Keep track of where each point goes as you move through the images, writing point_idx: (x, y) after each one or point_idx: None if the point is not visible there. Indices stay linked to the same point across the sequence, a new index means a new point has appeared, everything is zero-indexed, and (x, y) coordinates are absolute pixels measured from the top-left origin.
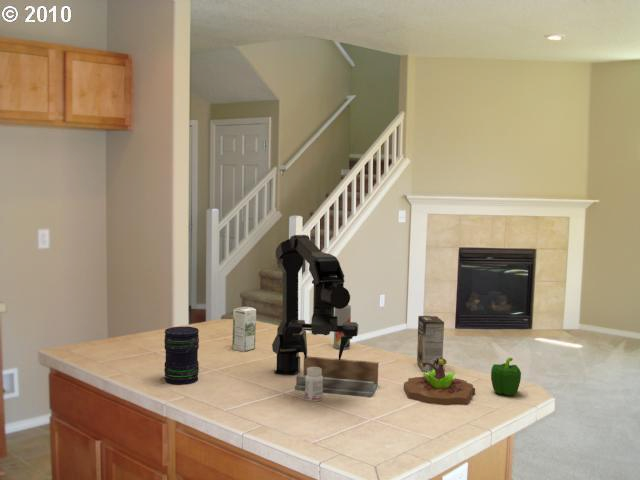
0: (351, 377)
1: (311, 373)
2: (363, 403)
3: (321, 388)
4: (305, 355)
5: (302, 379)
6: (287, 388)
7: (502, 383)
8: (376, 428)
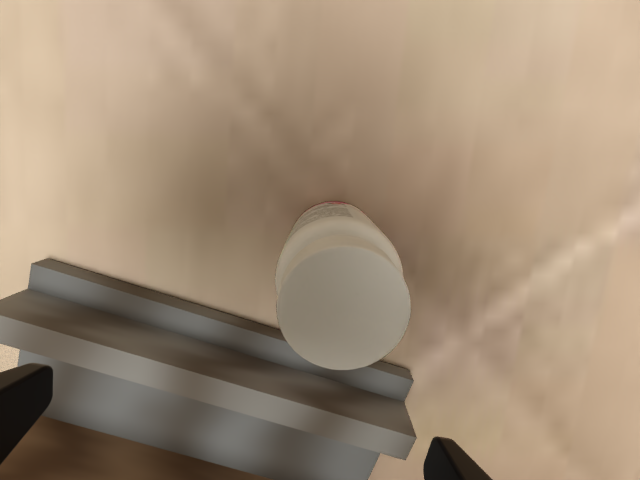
0: (123, 460)
1: (371, 246)
2: (88, 167)
3: (292, 229)
4: (464, 464)
5: (380, 416)
6: (438, 391)
7: None
8: None
